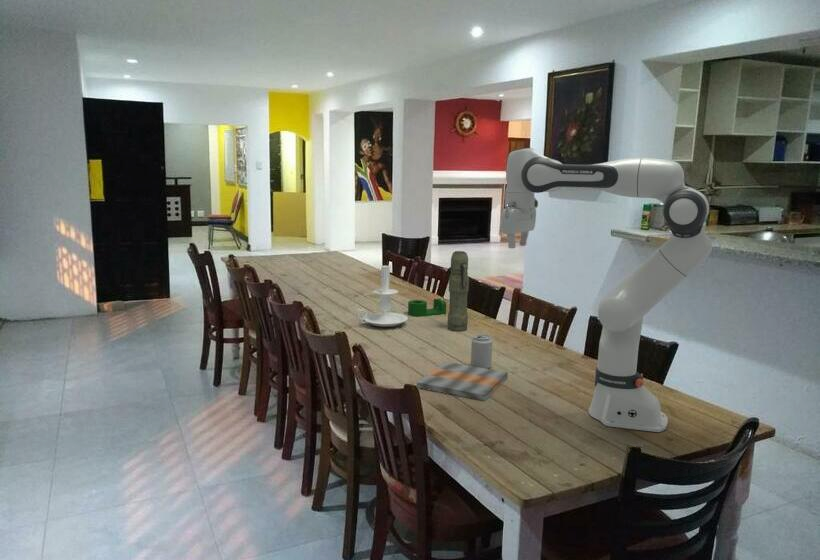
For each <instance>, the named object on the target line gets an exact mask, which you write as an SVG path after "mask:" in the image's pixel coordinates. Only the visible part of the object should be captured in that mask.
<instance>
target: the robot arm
mask: <svg viewBox="0 0 820 560" xmlns="http://www.w3.org/2000/svg"><path fill="white" fill-rule="evenodd" d="M505 169H506V170H505V171H506V172H505V179H506V188H505V193H504V208H503V211H502V215H501V222H500V223H501V226H500V232H501V234H503V235H504V234H506V239H507V242H508V249H515V248H516V241H515V240H516V239H515V237H516V234H519V233H520V240H519V245H518V246H521V247H525V246H527V241H528V239H529V238H528V236H529V232H531V231H534V229H535V226H536V220H537V208H538V207H539V201H538V200H537V198H536V197H535V193H536V194H539V193H547V192H549V193H550V192H551V193H552V192H555V191H558V190H561V189H562V188H563V187H564V188H586V189H587V188H590V189H594V190H599V191H603V192H606V193H609V194H612V195H617V196H621V197H628V198H636V199H637V198H638V199H639V198H640V199H641V198H642V199H644V198H645V199H646V198H647V199H656V200H658V201H659V202H661V203H662V204H663V207H662V214H663V215H662V216H663V218H664V221H665V224H667V226H668V228H669V230H670V232H671V236H670V237H669V238H668V239H667V240H666V241H665V242H664V243H663V244H662V245H660V246H659V248H657V249H656V250H655V251H654V252H653V253H651V255H649V257H647V258H646V259H645V260H644V261H643V262H642V263H640V264H639V265H638V266H637V267H636V268H635V269H634V270H633V271H632V272H630V274H628V275H627V276H626V277H625V278H624V279H623V280H621V282H620V283H619V284H617V286H616V287H614V288H612V290H610V292H608V293H607V294H606V295H605V296H604V297H603V298H602V300H601V301H600V303H599V305H598V310H597V311H598V312H597V315H598V316H597V317H598V320H599V323H600V324H601V326H602V329H601V335H600V337H599V342H598V344H599V345H598V355H597V366H596V368H595V370H594V381H593V382H594V391H593V395H592V400H591V402H590V403H591V404H590V406H589V408H588V409H587V410H588V411H587V413H588V414H589V415H590V416H591V417H592V418H593V419H596V420H597V421H600V422H601V423H602V424H603V425H604V426H607V427H613V428H620V429H629V430H637V431H644V432H655V433H660V432H663V431H665V430H666V428H667V427H668V425H669V424H668V423H669V421H668V420H669V418H668V416H667V415H666V414H665V413H664V412H662V410H661V404H660V402H659V401H660V400H659V399H658V398H657V396H656V395H654V394H653V393H652V392H651V391H650V390H648V389H647V388H646V387H645V386H644V376H643V375H644V374H643V373H639V371H637V367H638V356H639V346H640V339H641V334H642V329H643V328H642V327H643V322H644V316H645V315H647V314H648V313H649V312H650V311H652V309H653V308H654V307H656V306H657V305H658V304H659V303H660V302H661V301H663V299H664V298H666V296H668V295H669V294H670V293H671V292H672V291H673V290H674V289H676V288H677V287H678V286H679V285H680V284H682V282H684V281H685V280H686V279H687V278H688V277H690V276H691V275H692V274H693V273H694V272H695V271H696V270H697V269H699V268H700V267H701V265H702V264H703V263H704V262H705V261H706V259H708V257H709V256H710V255H711V253H712V251H713V242H712V240H711V238H710V236H709V235H708V234H707V233H706V232H705V231H704V229H703V226H704V223H705V221H706V220H707V218H708V215H709V213H710V203H709V200H708V198H707V197H706V196H705V194H704V193H703V192H702V191H700V190H698V189H697V188H694V187H693V186H691V185H689V184H688V183H686V182H685V172H684V169H683V167H682V165H681V164H680V163H679V162H677V161H674V160H669V159H664V158H654V157H628V158H621V159H620V158H619V159H616V160H615V159H614V160H611V161H606V162H605V161H604V162H601V163H594V164H572V163H571V164H568V163H562V162H560V161H559V160H556V159H553V158H550V157H547V156H545V155H543V154H541V153H540V152H538V151H536V150H535V148H532V147H523V148H522V147H521V148H518V149H514V150H512V151H511V152H509V154H508V157H507V161H506V168H505Z"/></svg>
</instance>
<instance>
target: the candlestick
mask: <svg viewBox="0 0 820 560" xmlns="http://www.w3.org/2000/svg"><path fill="white" fill-rule="evenodd" d="M390 267H391V264H390V265H385V264H384V265H382V266H381V271H380V272H381V273H380V274H381V276H380V277H381V284H380V285H381V286H380V288H376V289H374V290H373V291H372V293H375V294H377V295H380V296H381V299H380V300H379V302H378V303H379V304H378V305H379V308H380V310H382V311H381V312H373V313H372V312H371V313H367V311H366V309H356V316H357V319H359V321H360V323H361V324H370V325H372V326H375V327H376V326H377V327H382V328H385V327H396V326H399V325H401V324H403V323H404V322H406V321H408V320H409V319H408V316H407V315H405V314H403V313H398V312H389V310H390V309H391V308H392V305H393V303H392V300H391V298H390V296H392V295H394V294H398V293H399V290H397V289H393V288H390V279H391V278H390V277H391V276H390V274H391V273H390V272H391V270H390V269H391V268H390ZM361 312H364V316H363V317H360V313H361Z"/></svg>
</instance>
